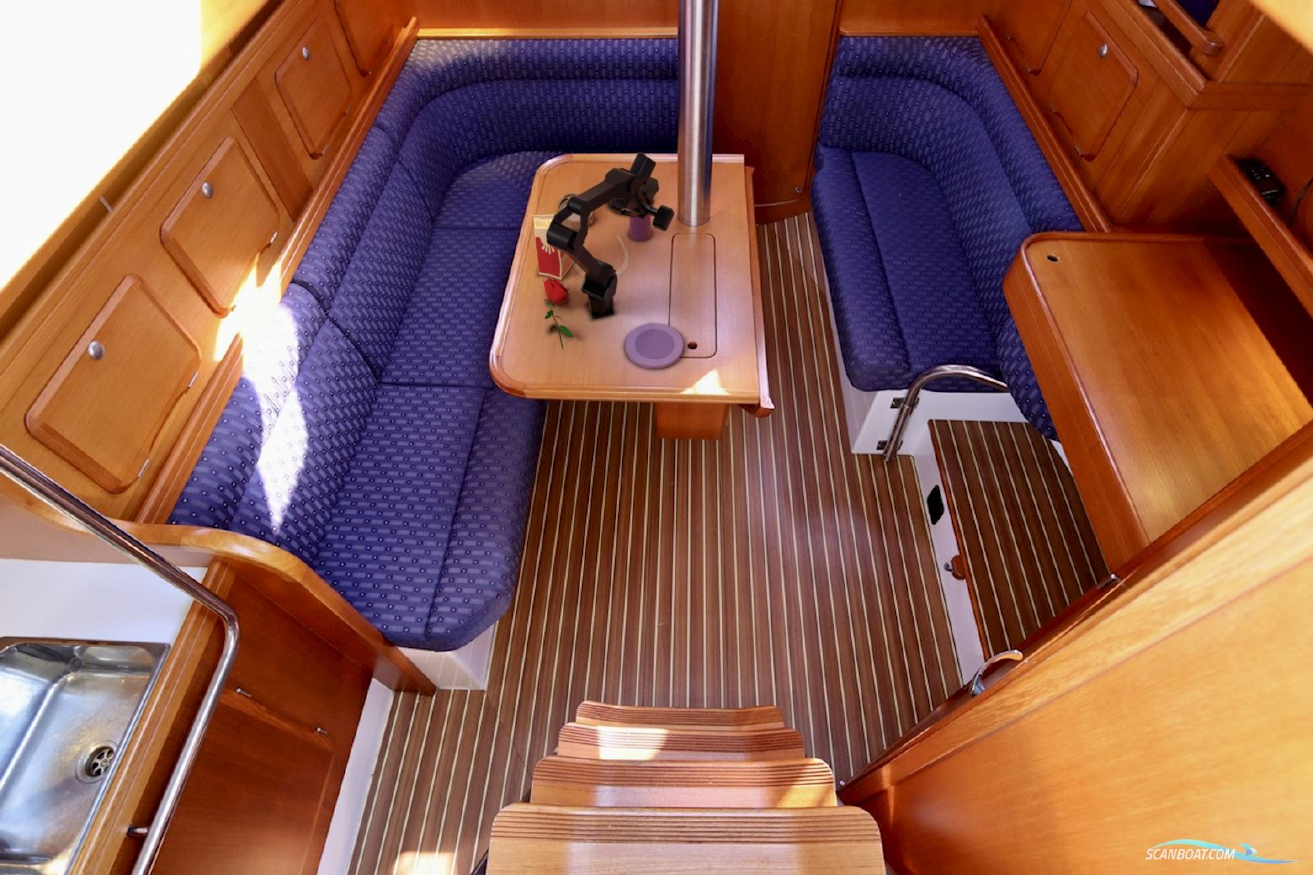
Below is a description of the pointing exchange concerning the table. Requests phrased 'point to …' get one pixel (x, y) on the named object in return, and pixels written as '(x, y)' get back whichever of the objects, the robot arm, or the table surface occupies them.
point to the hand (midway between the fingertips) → (650, 221)
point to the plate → (654, 345)
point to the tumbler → (640, 228)
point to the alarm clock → (574, 219)
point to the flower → (556, 301)
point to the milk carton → (549, 250)
